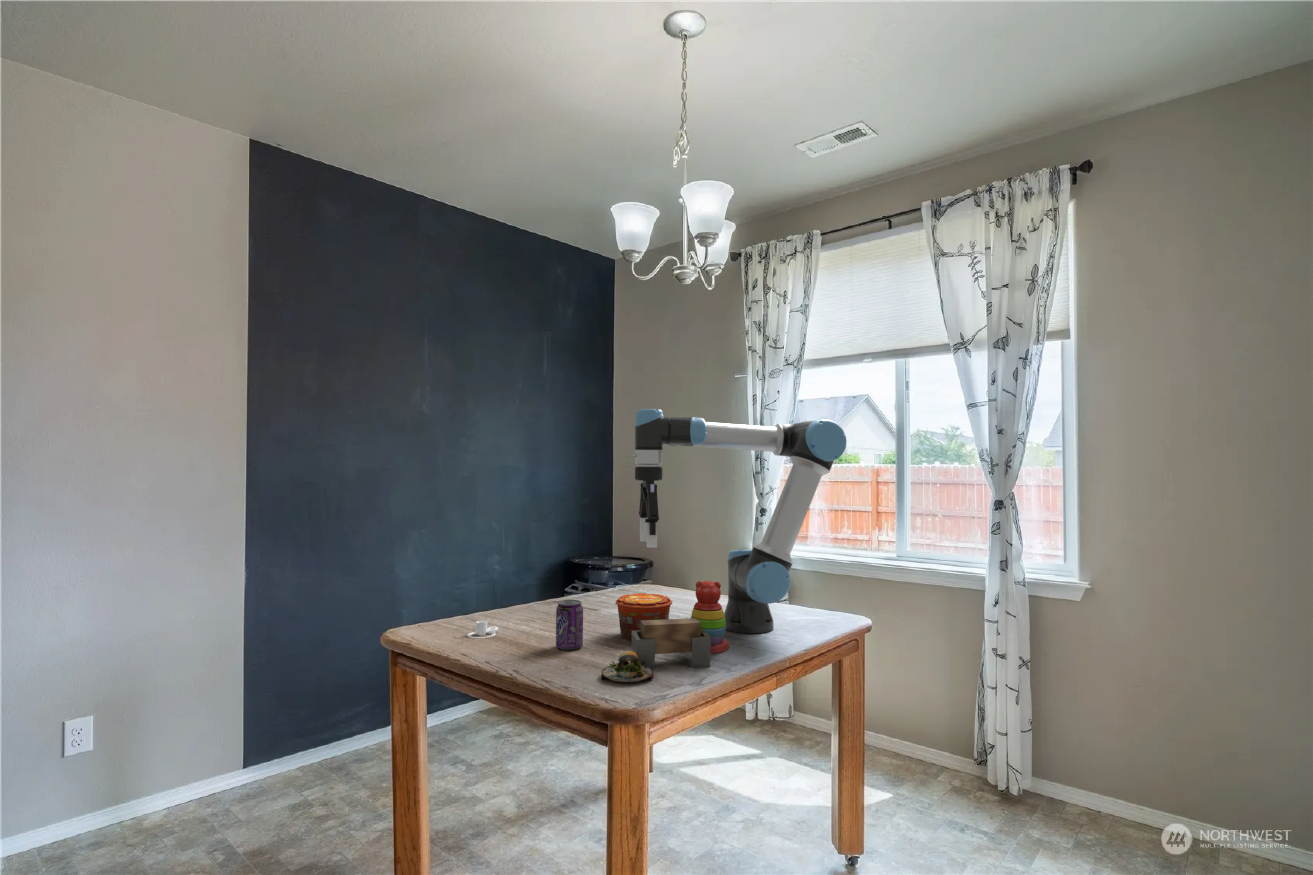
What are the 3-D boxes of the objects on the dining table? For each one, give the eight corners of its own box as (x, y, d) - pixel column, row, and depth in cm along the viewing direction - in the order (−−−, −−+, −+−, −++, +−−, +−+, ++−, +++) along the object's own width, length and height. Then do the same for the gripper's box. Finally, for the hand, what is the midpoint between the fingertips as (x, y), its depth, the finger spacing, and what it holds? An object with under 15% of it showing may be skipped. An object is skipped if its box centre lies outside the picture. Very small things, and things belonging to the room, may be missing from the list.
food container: (623, 646, 184) (624, 605, 184) (609, 631, 199) (609, 594, 199) (680, 641, 189) (680, 601, 189) (661, 627, 204) (661, 591, 204)
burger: (591, 683, 154) (592, 649, 154) (615, 668, 165) (616, 637, 165) (640, 690, 149) (640, 655, 150) (662, 675, 160) (662, 642, 160)
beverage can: (552, 645, 184) (553, 600, 184) (578, 643, 187) (578, 598, 187) (559, 652, 177) (560, 605, 178) (586, 649, 180) (586, 603, 180)
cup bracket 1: (636, 669, 163) (636, 639, 163) (631, 658, 172) (631, 630, 172) (654, 669, 164) (654, 639, 164) (649, 658, 173) (649, 630, 173)
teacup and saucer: (497, 631, 200) (497, 617, 200) (500, 638, 193) (500, 623, 193) (466, 633, 198) (466, 619, 198) (467, 640, 190) (467, 625, 190)
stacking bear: (729, 644, 186) (729, 578, 186) (727, 655, 176) (727, 585, 176) (689, 642, 187) (690, 576, 188) (685, 653, 177) (685, 583, 178)
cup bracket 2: (702, 656, 175) (702, 628, 175) (710, 666, 166) (710, 637, 166) (684, 656, 174) (684, 628, 174) (692, 667, 165) (692, 638, 165)
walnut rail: (695, 646, 173) (695, 618, 173) (700, 651, 168) (700, 622, 168) (640, 649, 170) (640, 620, 170) (644, 654, 165) (644, 625, 165)
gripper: (629, 465, 199) (629, 539, 199) (641, 466, 175) (640, 550, 174) (655, 465, 201) (654, 538, 200) (670, 466, 176) (669, 550, 175)
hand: (648, 544), depth 187 cm, fingers open, 13 cm apart
